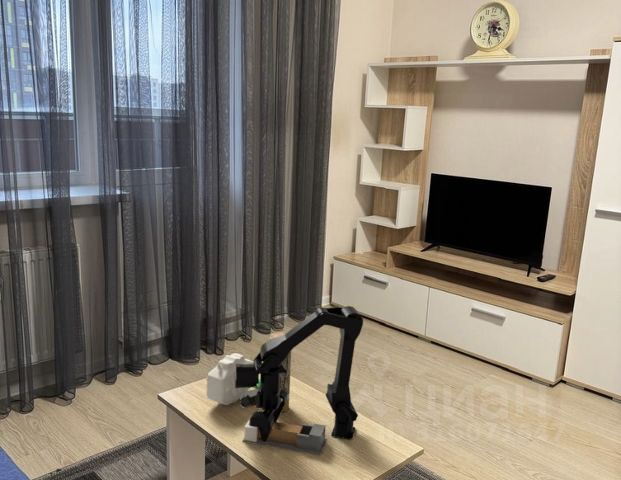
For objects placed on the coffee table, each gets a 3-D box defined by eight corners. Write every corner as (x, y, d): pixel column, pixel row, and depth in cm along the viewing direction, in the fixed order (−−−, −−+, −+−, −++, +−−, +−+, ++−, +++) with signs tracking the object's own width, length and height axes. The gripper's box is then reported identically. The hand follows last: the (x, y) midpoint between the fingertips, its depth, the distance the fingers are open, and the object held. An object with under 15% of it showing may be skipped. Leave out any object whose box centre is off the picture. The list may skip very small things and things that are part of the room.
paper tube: (286, 414, 188) (288, 341, 182) (265, 411, 189) (267, 339, 183) (291, 404, 194) (293, 333, 188) (271, 401, 195) (273, 331, 190)
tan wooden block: (254, 429, 177) (254, 417, 176) (302, 437, 174) (302, 426, 173) (249, 436, 173) (249, 424, 173) (298, 445, 170) (299, 433, 169)
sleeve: (301, 436, 175) (302, 421, 174) (324, 440, 174) (325, 425, 173) (296, 448, 169) (297, 432, 168) (320, 452, 168) (321, 436, 167)
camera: (201, 406, 190) (201, 361, 186) (236, 385, 205) (237, 343, 202) (227, 417, 185) (228, 370, 181) (261, 394, 200) (262, 351, 196)
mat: (251, 426, 180) (251, 425, 180) (326, 439, 175) (326, 438, 175) (242, 441, 172) (242, 440, 172) (320, 455, 167) (320, 454, 167)
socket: (252, 427, 179) (252, 414, 178) (264, 429, 178) (264, 416, 177) (244, 439, 172) (244, 426, 171) (256, 442, 171) (256, 428, 170)
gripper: (253, 368, 181) (252, 414, 185) (232, 396, 163) (231, 446, 167) (288, 373, 179) (286, 419, 182) (270, 402, 161) (269, 453, 165)
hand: (268, 433), depth 174 cm, fingers open, 8 cm apart
